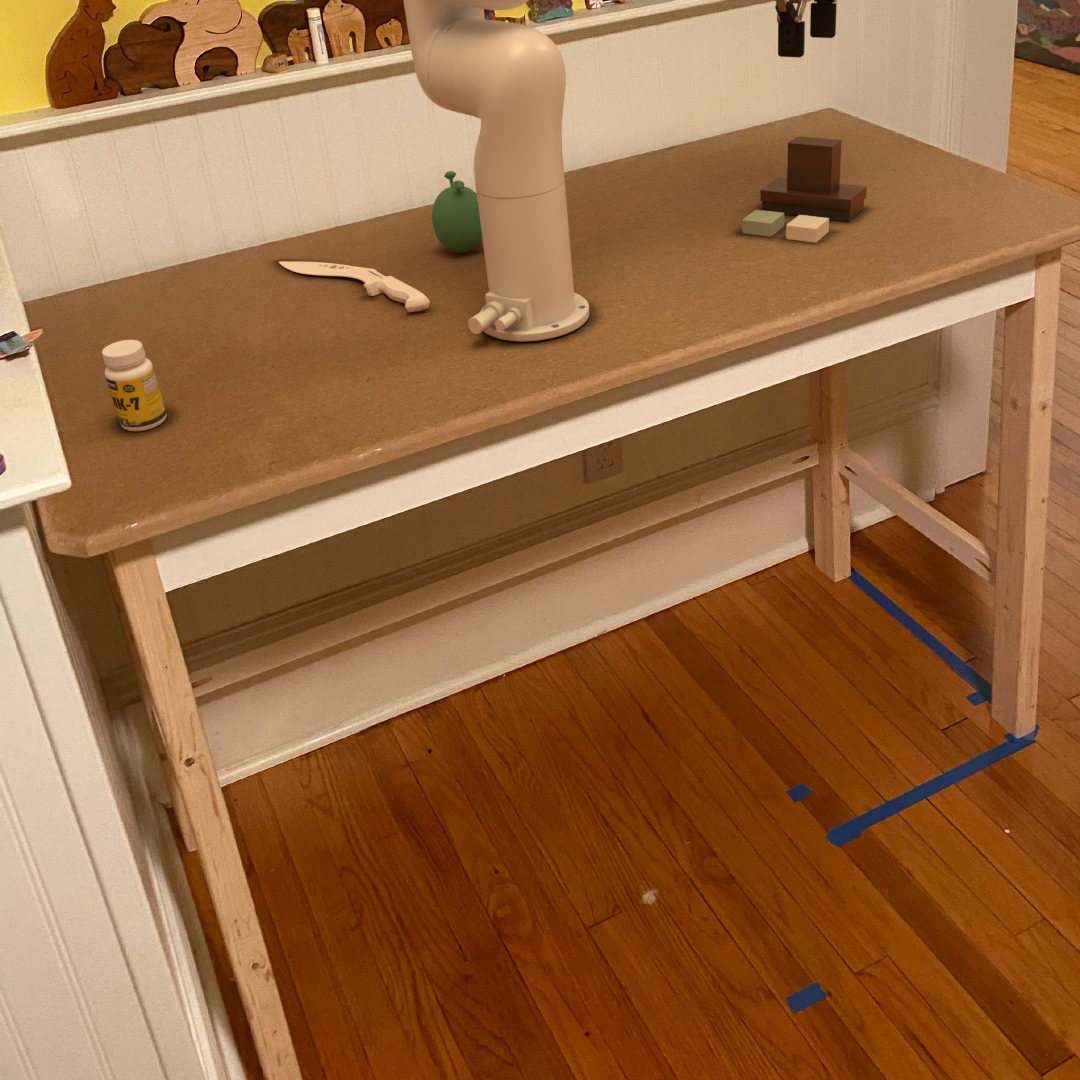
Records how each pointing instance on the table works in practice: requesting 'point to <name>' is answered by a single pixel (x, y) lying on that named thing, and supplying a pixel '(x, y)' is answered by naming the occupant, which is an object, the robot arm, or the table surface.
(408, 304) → the knife
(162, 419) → the supplement bottle
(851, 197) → the brown inverted t block
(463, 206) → the alien toy
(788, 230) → the chip
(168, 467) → the table surface
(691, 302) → the table surface
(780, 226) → the chip
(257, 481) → the table surface
